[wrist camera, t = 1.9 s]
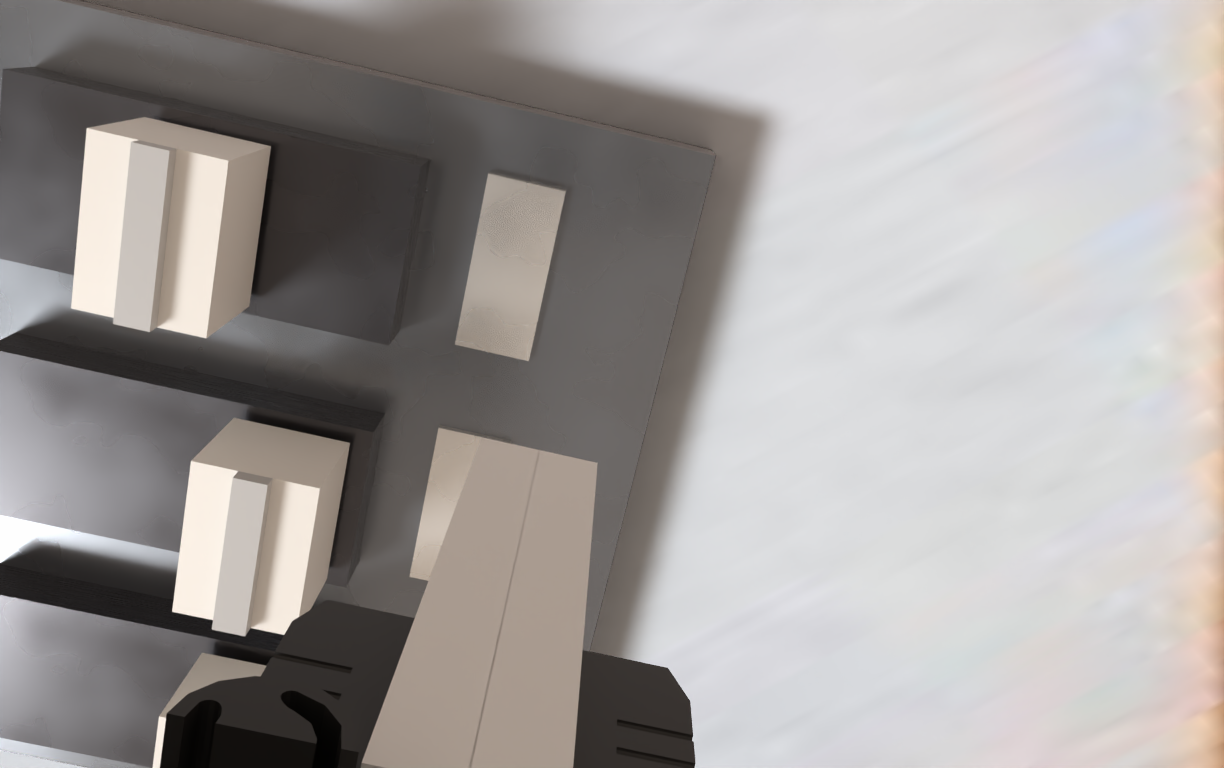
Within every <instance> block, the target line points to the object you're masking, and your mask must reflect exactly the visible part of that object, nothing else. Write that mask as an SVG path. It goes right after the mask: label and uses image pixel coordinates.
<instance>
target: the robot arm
mask: <svg viewBox="0 0 1224 768" xmlns="http://www.w3.org/2000/svg"><path fill="white" fill-rule="evenodd" d="M597 464H598V463H596V462H591V461H587V460H582V459H578V458H573V457H569V456H564V455H560V454H555V453H550V452H546V451H541V450H537V449H532V448H528V447H523V446H519V445H514V444H510V443H505V442H501V441H496V440H492V439H487V438H483V437H481V439H480V442H479V445H478V448H477V450H476V453H475V456H474V459H473V461H472V464H471V467H470V469H469V472H468V475H467V478H466V480H465V483H464V486H463V488H462V491H461V494H460V497H459V499H458V502H457V505H456V507H455V510H454V513H453V516H452V518H451V521H450V524H449V526H448V529H447V532H446V535H445V537H444V540H443V543H442V546H441V548H440V551H439V554H438V556H437V559H436V562H435V565H434V567H433V570H432V573H431V575H430V578H429V581H428V584H427V586H426V589H425V592H424V594H423V597H422V600H421V603H420V605H419V608H418V611H417V613H416V616H415V618H412V617H407V616H403V615H398V614H393V613H388V612H384V611H379V610H374V609H370V608H365V607H360V606H355V605H351V604H346V603H341V602H337V601H332V600H326V601H324V602H322V603H321V604H319V605H318V606H316V607H314V608H313V609H311V610H309V611H308V612H306V613H305V614H303V615H301V616H300V617H298V618H296V619H295V620H293V621H292V622H291V624H290V626H289V628H288V629H287V631H286V633H285V635H284V636H283V638H282V640H281V642H280V643H279V645H278V647H277V648H276V650H275V653H274V657H273V658H272V657H271V659H270V661H269V662H268V664H267V666H266V668H265V669H264V671H263V673H262V675H261V676H251V677H244V678H236V679H229V680H222V681H217V682H215V683H213V684H210V685H208V686H205V687H203V688H200V689H198V690H196V691H193V692H191V693H188V694H187V695H186V696H185V697H184V698H183V699H182V700H181V701H179V702H178V703H177V704H176V705H175V706H174V707H173V708H172V709H171V710H170V711H169V712H167V715H166V723H165V731H164V738H163V746H162V754H161V762H160V768H694V767H695V754H694V742H693V741H692V737H693V730H692V718H691V707H690V700H689V699H688V697H687V696H686V694H685V693H684V691H683V690H682V688H681V687H680V685H679V684H678V682H677V681H676V679H675V678H674V676H673V675H672V673H671V672H670V671H669V669H668V668H665V667H660V666H656V665H651V664H646V663H641V662H637V661H632V660H627V659H623V658H618V657H613V656H608V655H604V654H599V653H594V652H590V651H585V650H583V638H584V626H585V613H586V601H587V589H588V576H589V564H590V551H591V539H592V526H593V514H594V501H595V489H596V477H597Z"/></svg>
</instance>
